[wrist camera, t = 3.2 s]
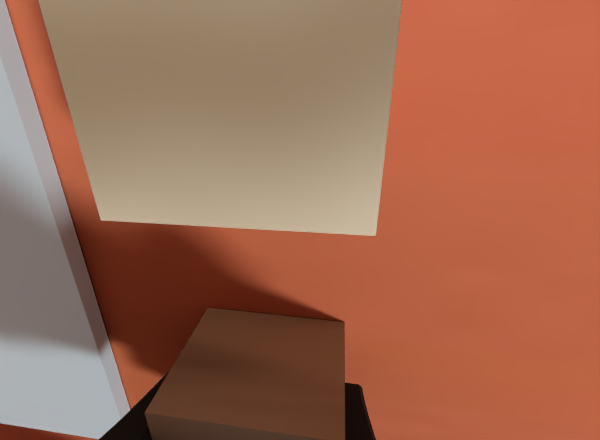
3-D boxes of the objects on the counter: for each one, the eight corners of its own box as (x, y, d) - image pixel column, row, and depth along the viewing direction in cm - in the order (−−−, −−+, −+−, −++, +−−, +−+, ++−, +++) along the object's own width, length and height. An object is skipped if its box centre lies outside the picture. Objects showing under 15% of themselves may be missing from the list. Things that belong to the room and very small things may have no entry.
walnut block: (334, 415, 13) (331, 545, 9) (219, 398, 13) (173, 516, 10) (344, 322, 11) (344, 442, 7) (207, 307, 11) (144, 412, 8)
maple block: (362, 173, 9) (375, 236, 5) (195, 167, 9) (100, 220, 6) (380, -50, 7) (425, -205, 3) (166, -40, 7) (-9, -161, 4)
